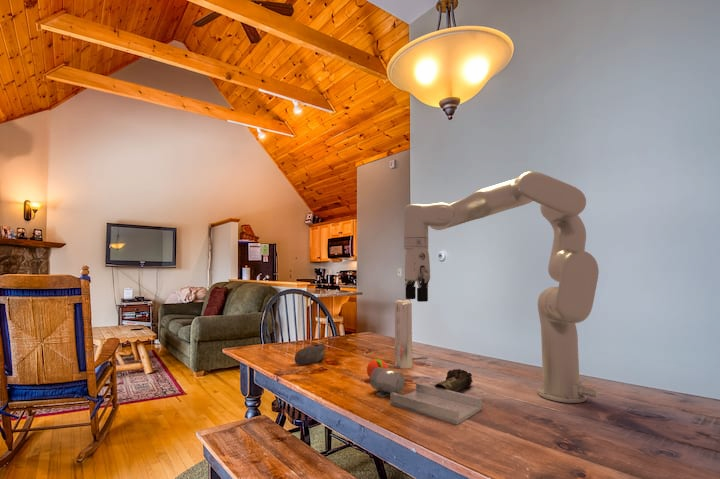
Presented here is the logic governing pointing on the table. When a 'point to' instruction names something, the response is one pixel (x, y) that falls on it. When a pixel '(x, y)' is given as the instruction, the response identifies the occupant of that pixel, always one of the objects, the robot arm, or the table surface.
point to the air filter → (403, 334)
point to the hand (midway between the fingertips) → (416, 300)
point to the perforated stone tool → (310, 354)
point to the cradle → (438, 403)
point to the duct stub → (386, 381)
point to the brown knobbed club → (456, 380)
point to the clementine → (375, 366)
